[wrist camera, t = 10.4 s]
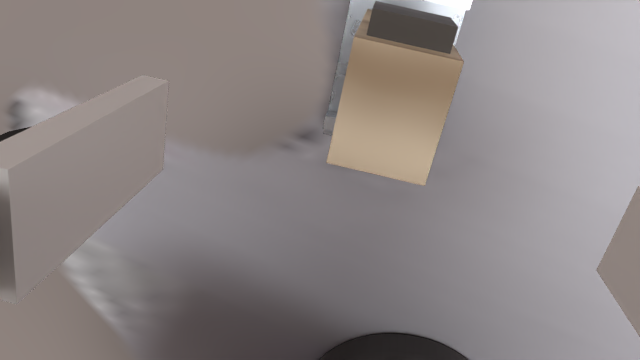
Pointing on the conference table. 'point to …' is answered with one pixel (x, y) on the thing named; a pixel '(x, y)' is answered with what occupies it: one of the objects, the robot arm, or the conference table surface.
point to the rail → (446, 3)
